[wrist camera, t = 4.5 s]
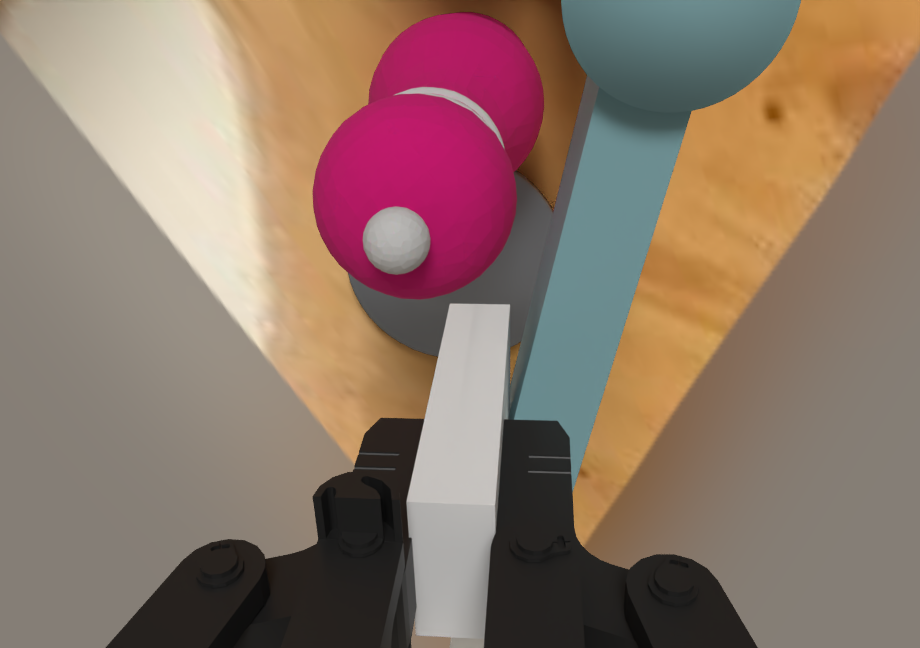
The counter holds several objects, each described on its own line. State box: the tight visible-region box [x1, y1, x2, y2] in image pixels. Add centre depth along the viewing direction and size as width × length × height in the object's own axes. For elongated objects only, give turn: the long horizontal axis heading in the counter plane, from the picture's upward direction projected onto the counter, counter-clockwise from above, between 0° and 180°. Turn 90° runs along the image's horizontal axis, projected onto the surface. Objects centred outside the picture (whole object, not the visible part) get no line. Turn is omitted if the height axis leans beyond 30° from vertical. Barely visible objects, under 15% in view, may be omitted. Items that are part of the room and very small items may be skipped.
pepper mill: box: [313, 12, 544, 300], centre depth 30 cm, size 7×7×20 cm
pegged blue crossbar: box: [450, 0, 801, 648], centre depth 16 cm, size 15×4×6 cm, turn 170°
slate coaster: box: [348, 170, 553, 357], centre depth 43 cm, size 11×11×1 cm
